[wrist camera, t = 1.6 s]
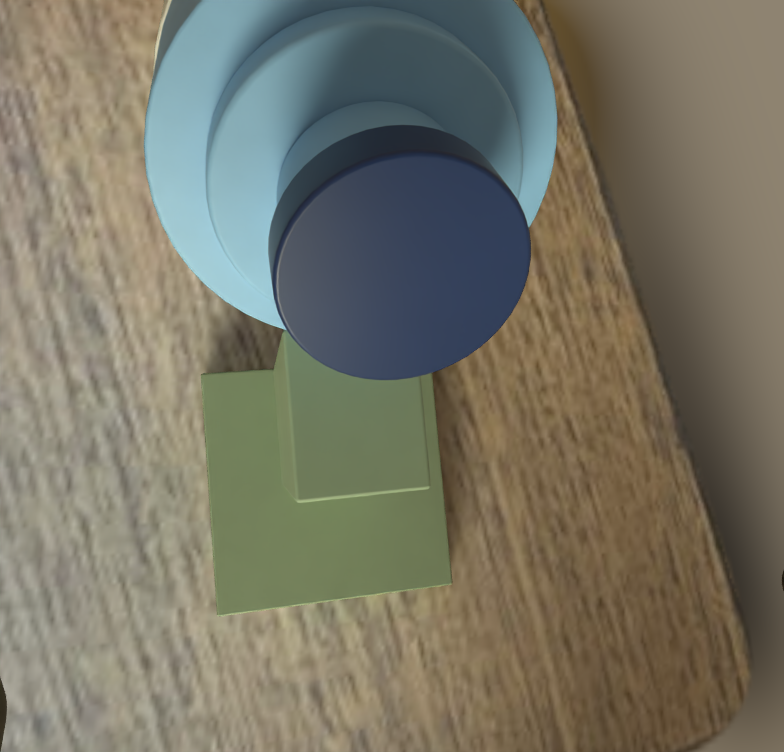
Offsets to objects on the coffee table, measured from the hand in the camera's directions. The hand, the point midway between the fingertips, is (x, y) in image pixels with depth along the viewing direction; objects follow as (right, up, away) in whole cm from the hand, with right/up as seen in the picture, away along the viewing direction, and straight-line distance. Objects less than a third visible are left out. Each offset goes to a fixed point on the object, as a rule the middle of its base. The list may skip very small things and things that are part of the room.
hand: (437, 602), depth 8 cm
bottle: (-3, +7, +12) cm, 14 cm away
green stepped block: (-2, 0, +11) cm, 11 cm away
